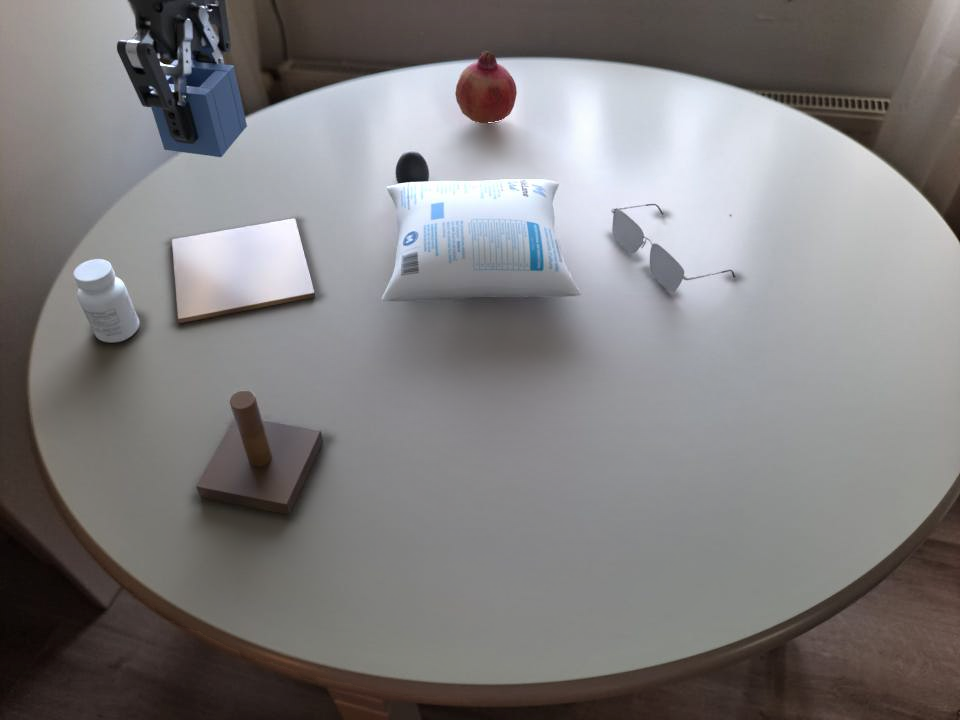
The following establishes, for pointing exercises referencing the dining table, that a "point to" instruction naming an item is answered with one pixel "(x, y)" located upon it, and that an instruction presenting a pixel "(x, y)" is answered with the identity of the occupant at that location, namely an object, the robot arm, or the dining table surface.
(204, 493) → the dowel stand
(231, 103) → the blue pencil cup
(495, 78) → the fruit
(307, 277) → the wooden board
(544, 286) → the pouch
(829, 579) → the dining table surface
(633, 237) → the eyeglasses
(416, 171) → the black rounded dome
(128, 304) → the pill bottle
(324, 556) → the dining table surface
